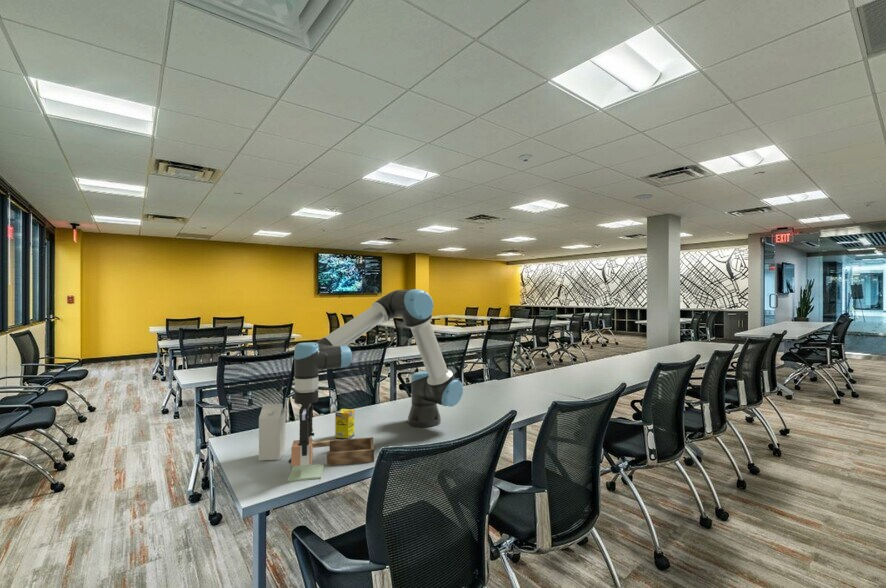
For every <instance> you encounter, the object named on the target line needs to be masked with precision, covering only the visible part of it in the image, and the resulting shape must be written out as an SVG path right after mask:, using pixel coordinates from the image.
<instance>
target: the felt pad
mask: <svg viewBox="0 0 886 588" xmlns="http://www.w3.org/2000/svg"><path fill="white" fill-rule="evenodd" d="M324 467H325V464H324V463H319V464H309V465H301V466H300V465H298V466H292V469H291V471H290V473H289V476H288V479H287V482H295V481H296V482H298V481H306V480H307V481H308V480H310V481H311V480H317V479H318V480H320V479H322V476H323V471H324Z"/></svg>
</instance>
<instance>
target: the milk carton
mask: <svg viewBox="0 0 886 588" xmlns="http://www.w3.org/2000/svg"><path fill="white" fill-rule="evenodd" d="M259 413H260V414H259V416H258V461H279V460H281V458H282V457H283V456H284V454H286V411H285V408H284V407H283V403H268V404H265V403H264V404H263V403H262V407H261V411H260V412H259Z"/></svg>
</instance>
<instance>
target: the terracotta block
mask: <svg viewBox="0 0 886 588" xmlns="http://www.w3.org/2000/svg"><path fill="white" fill-rule="evenodd" d="M313 442H314V441H313V438H312V439H309V465H312V463H313V462H312V461H313V453H314V452H313V449H314V448H313ZM298 444H299V440H298V439H297V440H293V442H292V445H291V452H290V453H291V456H290V459H291V463H290V464H291V467H293V466H300V446H298Z"/></svg>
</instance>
